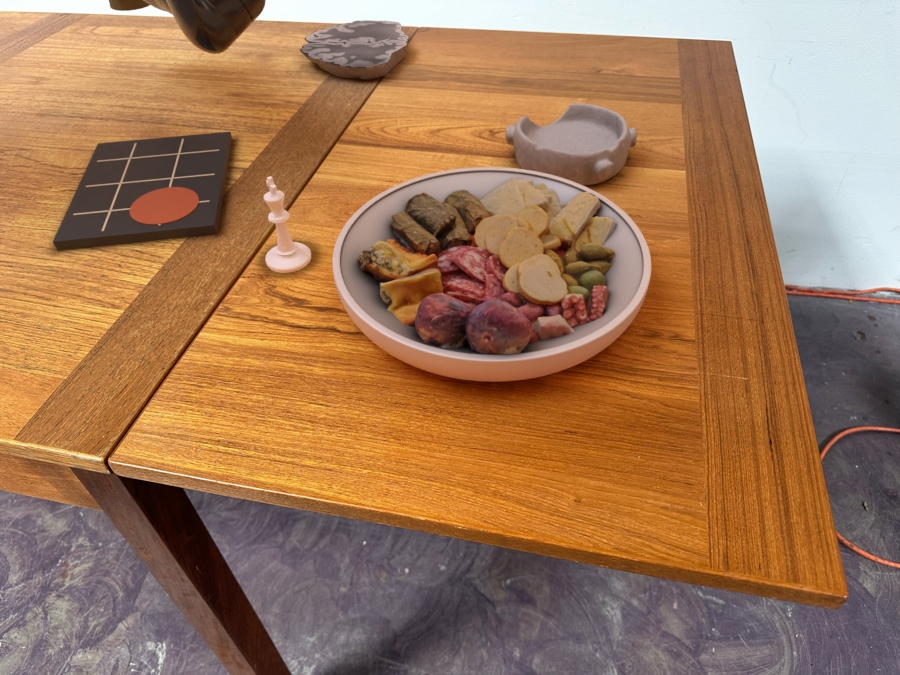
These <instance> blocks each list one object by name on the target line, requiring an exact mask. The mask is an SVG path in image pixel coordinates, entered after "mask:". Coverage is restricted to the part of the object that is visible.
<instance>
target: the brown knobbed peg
mask: <svg viewBox="0 0 900 675" xmlns="http://www.w3.org/2000/svg"><path fill="white" fill-rule="evenodd" d="M108 3H109V7H110V9H112V10H114V11H120V12H126V11H127V12H130V11H137V10H141V9H144V8H147V7H149V6H151V5H150V4H148V3H146V2H144V1H143V0H108Z"/></svg>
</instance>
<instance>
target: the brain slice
mask: <svg viewBox="0 0 900 675" xmlns="http://www.w3.org/2000/svg"><path fill="white" fill-rule="evenodd" d="M409 39H410V38H409V36H408V35H407V34H406V33H405V32H404V31H403V25H402V24H401V22H398V21H397V22H396V21H391V20H354V21H352V22H346V23H340V24H336V25H333V26H328V27H325V28H323V29H319V30H316V31H314V32H312V33H311V34H308V35H305V37H304V41H305V42H306V43H305V44H303V45H302V46H301V48H300V49H299V52H301V54H302V55H303V56H304V57H305V58H306V59H307V60H308V61H310V62H312V63H313V64H317V66H318V67H319V68H320V69H321V70H322V71H325V72H327V73H328V74H330V75H332V76H335V77H337V78H342V79H357V78H358V79H359V80H362V81H369V80H373V79H374V80H375V79H380V78H382V77H386V76H387V75H388V74H389V72H390V71H392V70H393V69H394V68H395V67H397V66H398V65H399V63H400V62H401V61H402V60H403V59H404V58H405V56H406V54H407V49H408V44H409Z"/></svg>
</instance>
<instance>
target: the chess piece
mask: <svg viewBox="0 0 900 675" xmlns="http://www.w3.org/2000/svg"><path fill="white" fill-rule="evenodd" d="M265 183H266V185H267V187H268V189H269V190H268V191H267V192H265V194H264V195H263V200H264V203H265V204H266V205H267V206H268V208H269V210H270V211H271V212H269V213H268V215H267V220H268V221H269V222H270V223H272V224H274V225H275V231H276V241H277V245H275V246H273V247H271V248H270V249H269V250H268V251H267V252H266V255H265V259H264V260H265V264H266V266H267V268H269V269H270V270H271V271H273V272H276V273H279V274H281V273H282V274H287V273H289V274H290V273H294V272H297V271H299V270H302V269H304V268H306V266H308V265H309V264H310V262H311V260H312V251H311V249H310V248H309V246H308V245H305V243H301V242H297V241H293V239H292V236H291V233H290V232H289V228H288V226H287V222H286V221H288V220H290V217H291V215H290V213H289V211H288V210H286V209H284V204H285V203H284V202H285V198H286V197H285V195H286V194H285V193H284V192H283V191H282V190H279V189H278V187H277V185H276V184H275V181H274V178H273V176H271V175H269V176H267V177H266V179H265Z"/></svg>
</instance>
